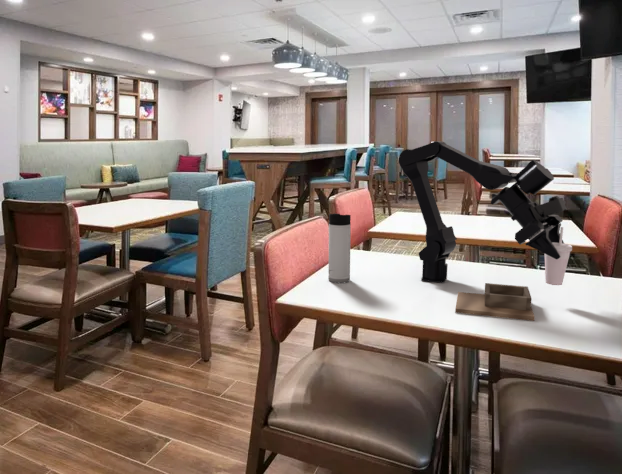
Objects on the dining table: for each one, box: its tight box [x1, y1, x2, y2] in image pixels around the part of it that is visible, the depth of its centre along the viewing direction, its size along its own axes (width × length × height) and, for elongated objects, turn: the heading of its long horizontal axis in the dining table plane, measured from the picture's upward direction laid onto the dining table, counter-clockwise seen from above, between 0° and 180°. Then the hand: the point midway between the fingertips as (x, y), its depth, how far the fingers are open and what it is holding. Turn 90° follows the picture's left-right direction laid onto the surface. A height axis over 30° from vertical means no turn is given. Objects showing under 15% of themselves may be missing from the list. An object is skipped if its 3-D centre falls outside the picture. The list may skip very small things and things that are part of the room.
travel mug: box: [328, 212, 352, 284], centre depth 140 cm, size 6×7×20 cm
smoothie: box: [544, 226, 573, 286], centre depth 118 cm, size 6×6×14 cm
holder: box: [454, 282, 536, 322], centre depth 117 cm, size 17×14×4 cm
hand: (562, 256), depth 118 cm, fingers closed on smoothie, 6 cm apart
